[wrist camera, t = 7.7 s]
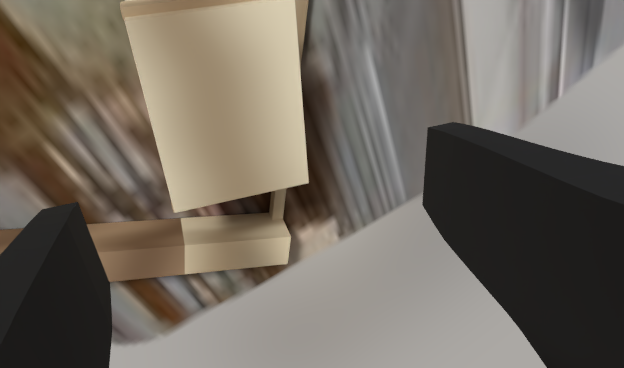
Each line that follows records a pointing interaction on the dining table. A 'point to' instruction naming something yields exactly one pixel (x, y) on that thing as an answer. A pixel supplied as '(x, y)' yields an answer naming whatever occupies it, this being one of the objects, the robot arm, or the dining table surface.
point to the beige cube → (221, 95)
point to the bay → (193, 234)
